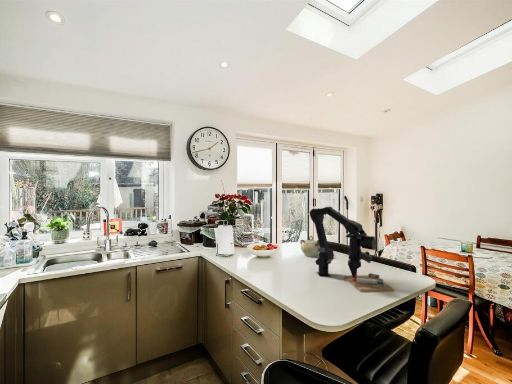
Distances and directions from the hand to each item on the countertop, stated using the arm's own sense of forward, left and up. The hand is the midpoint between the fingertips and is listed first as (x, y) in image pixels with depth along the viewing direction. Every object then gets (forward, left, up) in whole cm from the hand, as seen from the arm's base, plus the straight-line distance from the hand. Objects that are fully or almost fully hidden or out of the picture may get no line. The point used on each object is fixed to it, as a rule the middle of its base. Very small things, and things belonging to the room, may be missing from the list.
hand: (353, 276), depth 134 cm
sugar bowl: (-59, -8, -4) cm, 60 cm away
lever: (+4, +6, -2) cm, 7 cm away
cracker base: (+1, +7, -4) cm, 8 cm away
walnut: (-1, +10, -1) cm, 10 cm away
